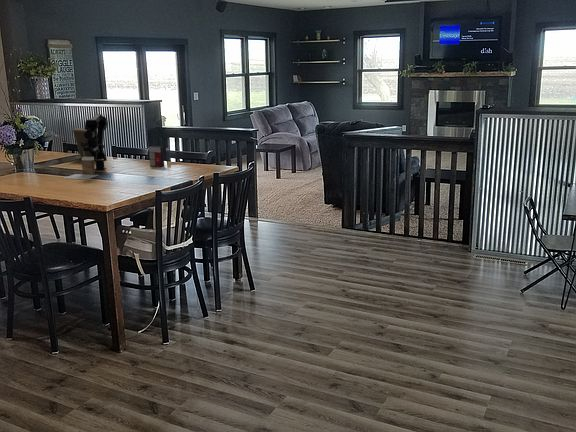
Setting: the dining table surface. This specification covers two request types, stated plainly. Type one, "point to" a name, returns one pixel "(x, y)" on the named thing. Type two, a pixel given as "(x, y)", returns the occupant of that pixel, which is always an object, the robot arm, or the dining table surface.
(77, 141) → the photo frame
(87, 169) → the walnut block
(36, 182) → the dining table surface
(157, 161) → the red and grey box
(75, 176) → the mat
